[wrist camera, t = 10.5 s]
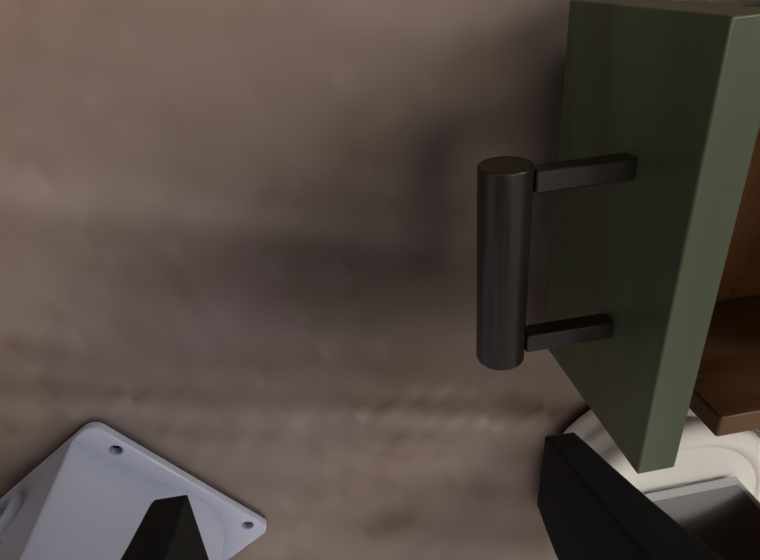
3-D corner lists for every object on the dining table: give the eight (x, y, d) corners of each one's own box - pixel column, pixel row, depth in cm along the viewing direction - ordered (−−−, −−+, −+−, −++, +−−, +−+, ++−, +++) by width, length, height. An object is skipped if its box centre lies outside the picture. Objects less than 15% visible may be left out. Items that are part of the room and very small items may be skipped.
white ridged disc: (741, 357, 26) (802, 409, 23) (709, 499, 31) (756, 557, 28) (534, 405, 25) (569, 464, 22) (536, 542, 30) (565, 605, 27)
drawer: (444, 359, 22) (504, 500, 16) (432, 14, 16) (521, 38, 10) (847, 292, 24) (1033, 398, 18) (976, -44, 18) (1324, -51, 12)
